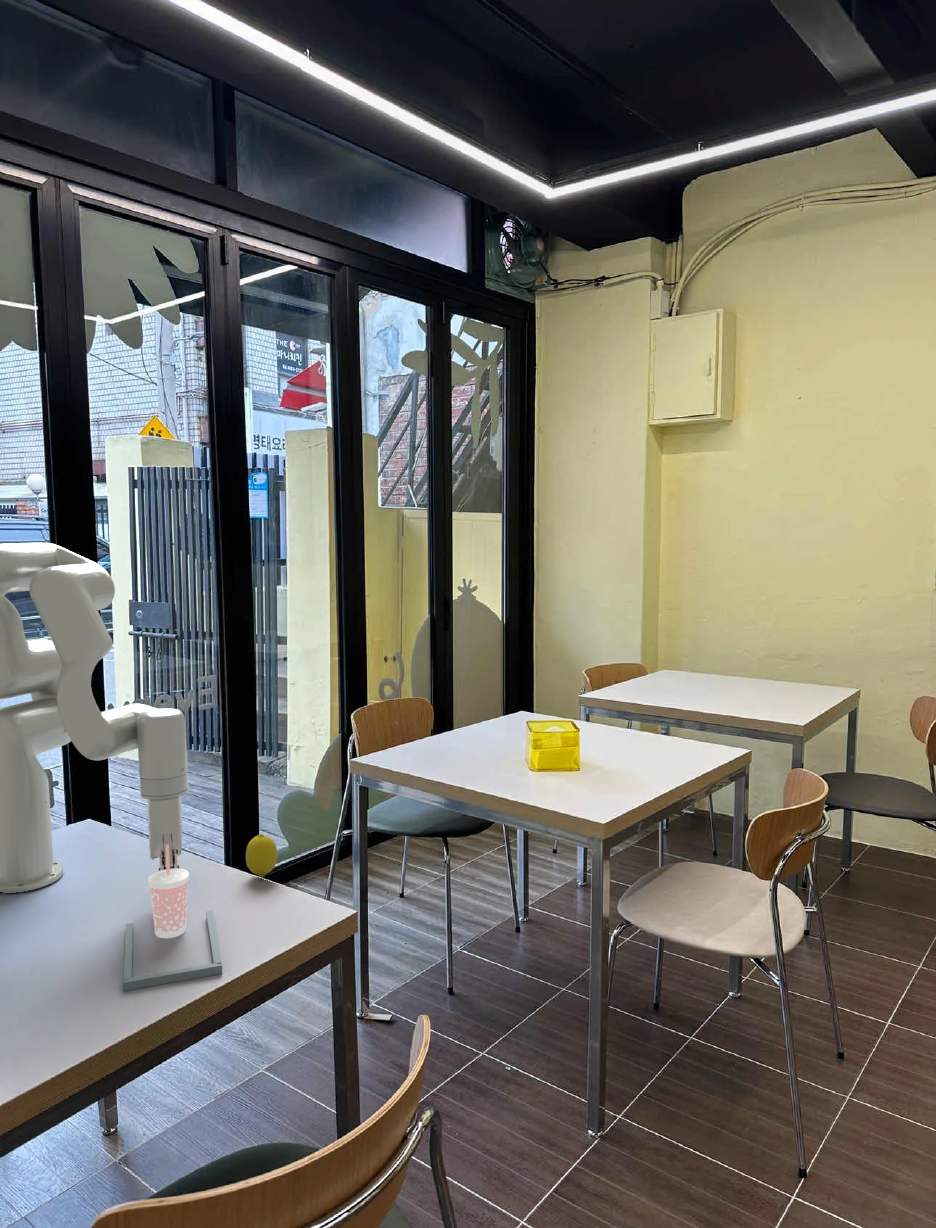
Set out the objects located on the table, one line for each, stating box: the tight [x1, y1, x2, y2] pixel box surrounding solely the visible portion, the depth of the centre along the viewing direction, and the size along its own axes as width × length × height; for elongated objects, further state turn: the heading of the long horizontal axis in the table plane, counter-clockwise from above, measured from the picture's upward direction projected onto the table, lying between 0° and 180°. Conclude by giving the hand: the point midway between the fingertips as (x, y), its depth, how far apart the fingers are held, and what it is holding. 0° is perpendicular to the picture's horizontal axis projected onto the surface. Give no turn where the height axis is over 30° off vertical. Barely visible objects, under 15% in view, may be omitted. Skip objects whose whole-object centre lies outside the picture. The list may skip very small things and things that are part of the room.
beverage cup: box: [147, 844, 190, 939], centre depth 134 cm, size 6×6×14 cm
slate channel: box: [122, 910, 223, 992], centre depth 129 cm, size 18×13×1 cm
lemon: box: [245, 833, 278, 878], centre depth 155 cm, size 6×6×8 cm
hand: (170, 891), depth 144 cm, fingers closed
